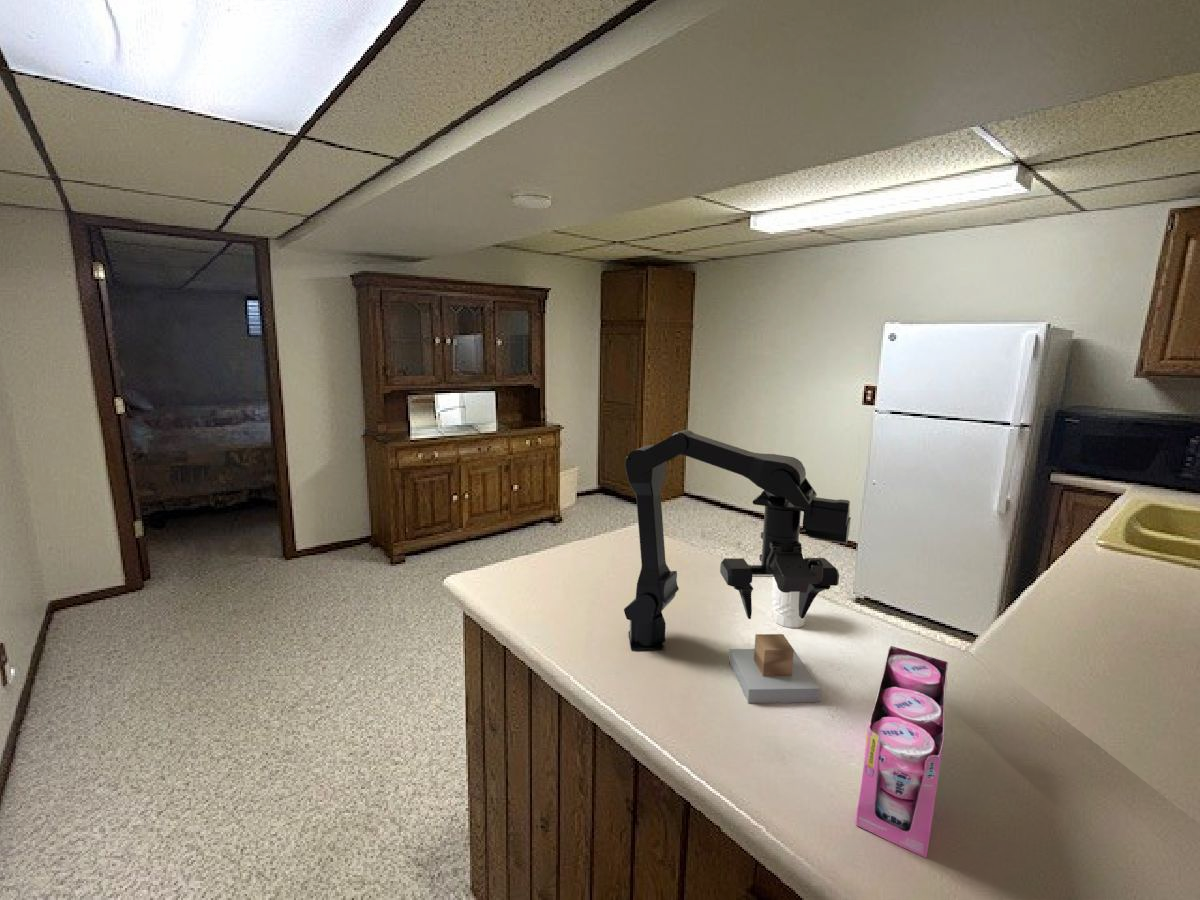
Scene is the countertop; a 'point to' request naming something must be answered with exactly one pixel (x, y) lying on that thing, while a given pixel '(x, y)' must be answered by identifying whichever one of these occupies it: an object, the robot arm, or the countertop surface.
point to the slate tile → (773, 680)
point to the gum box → (904, 750)
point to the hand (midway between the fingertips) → (775, 617)
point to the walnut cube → (773, 655)
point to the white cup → (786, 607)
